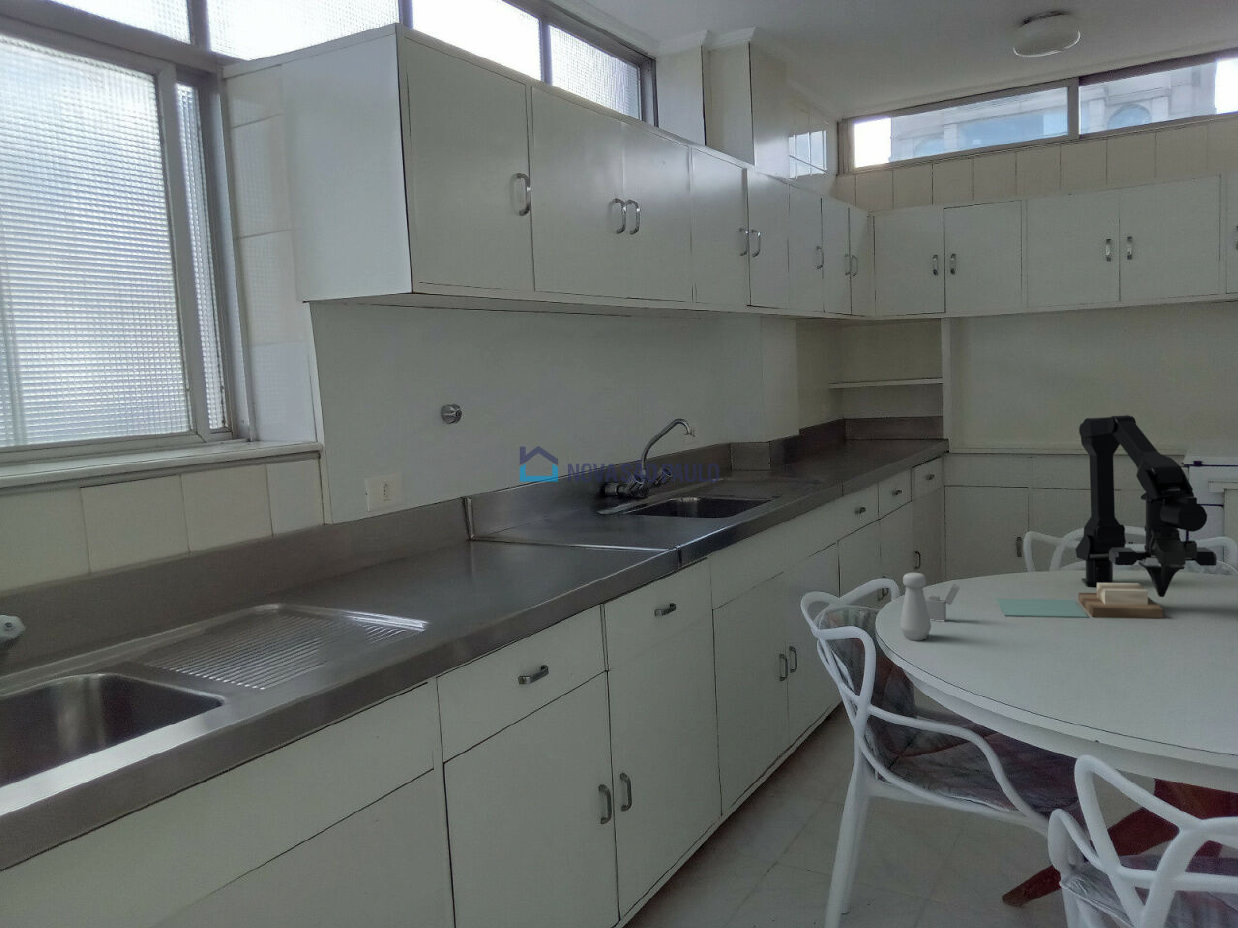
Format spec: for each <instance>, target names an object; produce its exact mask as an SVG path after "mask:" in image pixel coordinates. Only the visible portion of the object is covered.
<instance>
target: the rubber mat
mask: <svg viewBox="0 0 1238 928" xmlns="http://www.w3.org/2000/svg"><path fill="white" fill-rule="evenodd" d="M995 601H996V602H997V604H998V606H999V605H1000V606H999V608H1000V607H1001V608H1000V610H1001V611H1002V613H1003V615H1004V617H1025V618H1026V617H1031V618H1034V617H1036V618H1037V617H1038V618H1081V619H1082V618H1083V619H1084V618H1085V619H1086V618H1089V616H1088V615H1087V614H1086V612H1085V611H1084V610H1083V609H1082V608H1081V607H1080V605H1079V604H1078V603H1077V602H1076V600H1074V599H1072V598H1071V599H1068V598H1067V599H1065V598H1064V599H1062V598H1061V599H1060V598H1059V599H1058V598H1057V599H1056V598H1055V599H1054V598H1046V599H1045V598H1000V597H999V598H995Z"/></svg>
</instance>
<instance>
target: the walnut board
mask: <svg viewBox="0 0 1238 928" xmlns="http://www.w3.org/2000/svg"><path fill="white" fill-rule="evenodd" d="M1078 603H1079V604H1080V605H1081V606H1082V607H1083V608H1084V609H1085V610H1086V611H1087V613H1088V614H1090V616H1091V617H1092V618H1112V619H1113V618H1117V619H1120V618H1122V619H1123V618H1124V619H1125V618H1126V619H1162V620H1163V619H1164V608H1163V607H1161V606H1160V605H1159V604H1158V603H1157V602H1155V600H1152V599H1151V598H1150V597H1149V596H1148V605H1113V604H1104V603H1103V602H1102V601H1101V600H1100V599H1099V598H1098V597H1097V592H1078Z"/></svg>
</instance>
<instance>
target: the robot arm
mask: <svg viewBox="0 0 1238 928" xmlns="http://www.w3.org/2000/svg"><path fill="white" fill-rule="evenodd" d="M1078 432H1079V433H1078V434H1079V436H1080V441H1081V445H1082V447H1083V448H1084V450H1085V451H1086V453H1087V455H1088V456H1089V481H1090V483H1089V484H1090V485H1089V487H1090V518H1088V521H1087V522H1086V524H1085V525H1084V527H1083V537H1082V538H1081V540H1080V541H1079V543H1078V544H1077V546H1076V547H1075V554H1076V558H1077V559H1080V560H1082V561H1085V578H1084V577H1083V578H1081V582H1083V583H1084V585H1085V586H1087V587H1097V583H1116V582H1115V581H1114V572H1113V571H1114V565H1116V566H1134V565H1135V564H1136V563H1138V565H1139V566H1141V567H1143V568H1144V569H1146V571H1147V573H1148V575H1149V577H1150V578H1151V581H1152V584H1153V587H1154V589H1155V591H1156V594H1157V595H1158V597H1159V598H1164V597H1165V596H1166V593H1167V591H1168V588H1169V586H1170V583H1171V581H1172V579H1173V578H1174V576H1175V575H1176V573H1177V572H1178V571H1180V570H1184V569H1185V568H1186V567H1185V565H1186V561H1187V562H1191V561H1192V562H1195V563H1196V564H1197V565H1199V566H1201V567H1202V566H1203V567H1204V566H1205V567H1206V566H1207V567H1208V566H1210V567H1215V566H1217V565H1218V563H1217V560H1218V559H1217V555H1216V553H1215V552H1214V550H1213V551H1212V550H1211V549H1209V548H1207V547H1205V546H1204V547H1198V544H1197V542H1196V540H1181V534H1180V530H1183V531H1185V532H1191V533H1192V532H1197V531H1200V530H1201V529H1202V528H1203V527H1204V526H1205V525H1206V523H1207V520H1208V514H1207V512H1206V510H1205V508H1204V507H1203V506H1202V505H1201V504H1199V503H1198V498H1197V497H1196V496H1195V494H1194V492H1193V490H1194V488H1193V486H1192V485H1191V483H1190V481H1189V479H1188V478H1187V475H1186V474H1185V471H1184V469H1183V468H1182V466H1181V465H1180V464H1179V463H1177V462H1176V460H1174V459H1173V458H1172V457H1169V456H1168V455H1167V456H1166V455H1165V454H1164V455H1163V454H1161V452H1159V451H1158V450H1157V448H1156V447H1155V446H1154V445H1153V444H1152V442H1151V441H1150V440H1149V439H1148V437H1147V436H1146V435H1145V434H1144V432H1143V431H1142V430H1141V429H1140V427H1139V426H1138V425H1137V422H1136V419H1135V417H1133V416H1131V415H1128V414H1127V415H1112V416H1108V417H1107V416H1105V417H1101V416H1100V417H1088V418H1085V419H1083V422H1082V423H1080V425H1079V428H1078ZM1119 446H1120V447H1122V449H1123V450H1124V451H1125V453H1126V454H1127V455H1128V457H1129V458H1130V459H1131V460H1132V462H1133V463H1134V464H1135V466H1136V468H1137V469H1136V478H1137V480H1138V482H1139V484H1140V486H1141V487H1142V489H1143V490H1144V491H1145V493H1143V494H1141V496H1140V499H1141V500H1143V501H1145V525H1144V532H1145V544H1144V550H1145V551H1135V550H1133V548H1131V547H1126V543H1127V540H1126V536H1125V535H1126V527H1125V525H1124V524H1121V523H1120V522H1119V521H1118V518H1116V513H1115V511H1116V510H1115V509H1116V506H1115V503H1116V502H1115V475H1114V474H1115V473H1114V472H1115V471H1114V468H1115V467H1114V455H1115V453H1116V452H1117V450H1118V448H1119ZM1137 561H1138V562H1137Z"/></svg>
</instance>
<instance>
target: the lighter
mask: <svg viewBox="0 0 1238 928" xmlns="http://www.w3.org/2000/svg"><path fill="white" fill-rule="evenodd" d="M960 589H961V587H960V585H957V584H956V583H954V584H953V585H952V586H951V587H950V590H949V591H948V593H947V595H946V597H945V599H941V596H940V595H938V594H937V595H934V594H930V595H928V597H927V598H925V601H926V606H927V610H928V614H929V619H934V620H945V619H946V620H947V607H946V606H947V605H949V606H950V605H952V603H953V602H954V600H955V598H956V596H957V594H958V592H959V591H960ZM946 604H947V605H946Z"/></svg>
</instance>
